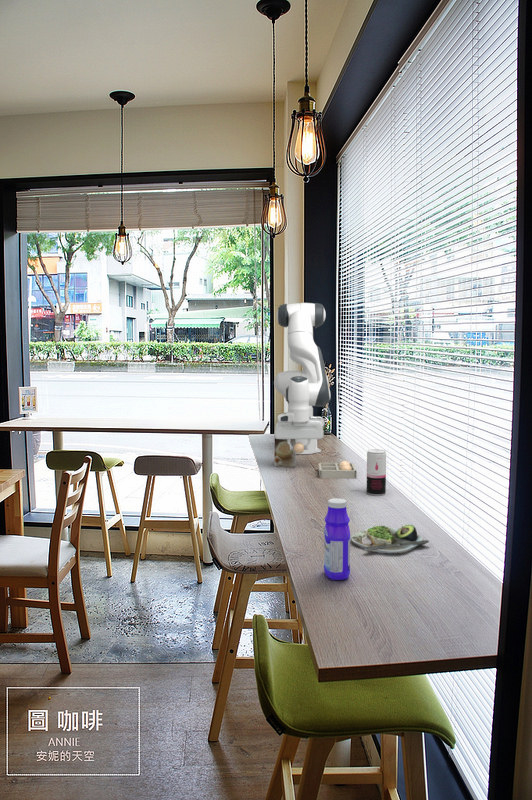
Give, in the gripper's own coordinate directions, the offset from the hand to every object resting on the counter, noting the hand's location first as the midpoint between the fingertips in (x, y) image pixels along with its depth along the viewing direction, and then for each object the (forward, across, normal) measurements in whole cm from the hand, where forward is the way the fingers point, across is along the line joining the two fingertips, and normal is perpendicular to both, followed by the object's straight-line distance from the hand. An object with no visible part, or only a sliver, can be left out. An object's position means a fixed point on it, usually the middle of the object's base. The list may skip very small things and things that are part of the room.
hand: (298, 449), depth 235 cm
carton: (+8, -15, +10) cm, 20 cm away
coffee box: (+9, +6, -8) cm, 13 cm away
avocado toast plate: (+6, -24, +85) cm, 89 cm away
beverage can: (+8, -27, +36) cm, 46 cm away
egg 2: (+8, -18, +7) cm, 21 cm away
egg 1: (+2, 0, 0) cm, 2 cm away
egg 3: (+8, -18, +13) cm, 24 cm away
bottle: (+6, -9, +107) cm, 107 cm away
